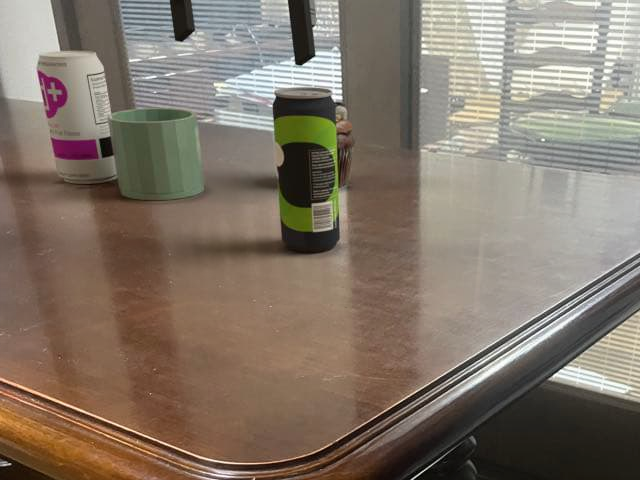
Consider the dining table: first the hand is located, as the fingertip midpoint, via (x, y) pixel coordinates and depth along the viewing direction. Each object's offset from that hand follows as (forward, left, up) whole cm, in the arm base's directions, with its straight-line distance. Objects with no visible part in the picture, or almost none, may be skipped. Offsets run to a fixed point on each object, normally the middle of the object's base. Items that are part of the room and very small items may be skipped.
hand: (248, 49), depth 86 cm
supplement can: (-36, +16, -19) cm, 44 cm away
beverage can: (+6, -1, -19) cm, 19 cm away
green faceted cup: (-23, +14, -18) cm, 33 cm away
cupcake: (-6, +26, -19) cm, 33 cm away
